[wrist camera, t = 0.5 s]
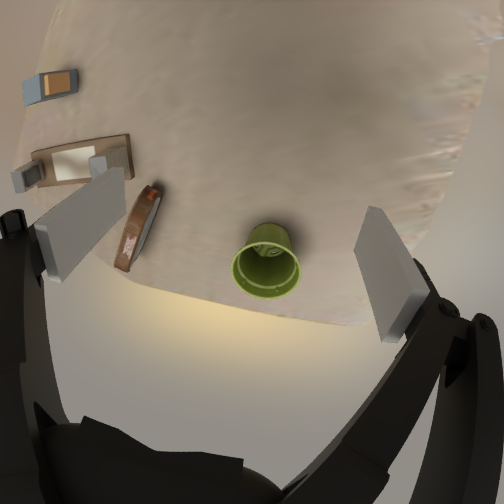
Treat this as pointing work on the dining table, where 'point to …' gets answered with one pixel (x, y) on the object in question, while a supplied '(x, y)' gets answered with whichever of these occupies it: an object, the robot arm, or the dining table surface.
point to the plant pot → (266, 264)
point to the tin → (137, 228)
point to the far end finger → (28, 176)
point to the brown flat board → (77, 160)
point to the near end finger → (109, 160)
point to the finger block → (49, 86)
